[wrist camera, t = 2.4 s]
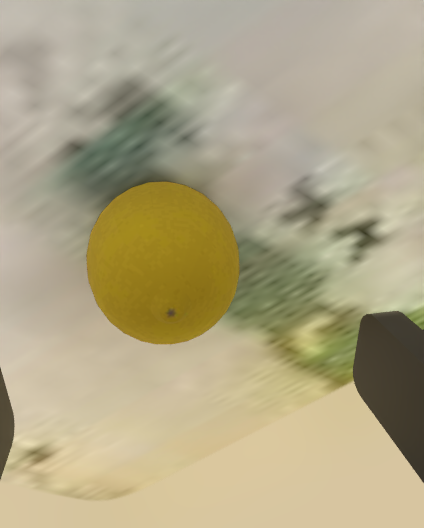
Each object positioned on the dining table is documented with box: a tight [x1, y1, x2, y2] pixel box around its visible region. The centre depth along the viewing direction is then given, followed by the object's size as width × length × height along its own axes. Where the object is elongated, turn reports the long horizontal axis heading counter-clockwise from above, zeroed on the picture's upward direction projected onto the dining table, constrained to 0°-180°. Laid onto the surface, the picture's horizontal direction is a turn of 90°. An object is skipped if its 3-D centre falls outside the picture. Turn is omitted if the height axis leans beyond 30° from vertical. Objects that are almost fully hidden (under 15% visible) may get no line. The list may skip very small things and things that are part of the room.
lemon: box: [87, 182, 239, 344], centre depth 15 cm, size 6×6×8 cm
